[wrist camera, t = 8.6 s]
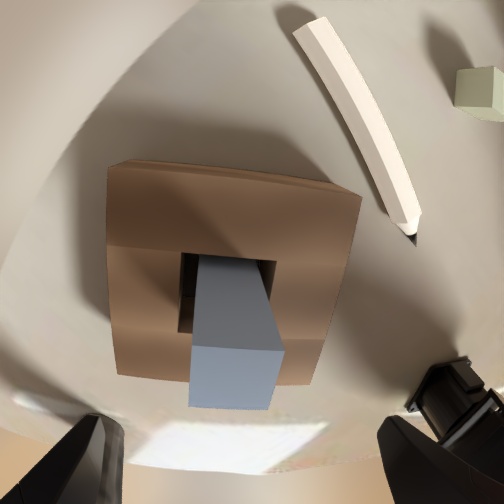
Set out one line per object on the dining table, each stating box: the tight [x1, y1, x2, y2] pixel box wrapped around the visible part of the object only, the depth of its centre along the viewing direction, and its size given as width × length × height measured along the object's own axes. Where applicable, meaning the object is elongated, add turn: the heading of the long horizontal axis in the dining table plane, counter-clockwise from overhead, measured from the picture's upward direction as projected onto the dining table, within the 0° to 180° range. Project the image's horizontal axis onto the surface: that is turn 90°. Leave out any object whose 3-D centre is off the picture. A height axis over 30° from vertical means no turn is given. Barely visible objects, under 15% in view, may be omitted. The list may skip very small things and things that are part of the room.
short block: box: [454, 66, 504, 122], centre depth 15 cm, size 3×3×4 cm
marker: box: [292, 17, 422, 247], centre depth 17 cm, size 3×2×16 cm
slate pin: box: [188, 254, 285, 410], centre depth 15 cm, size 3×3×10 cm
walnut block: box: [106, 160, 362, 385], centre depth 18 cm, size 12×12×4 cm
